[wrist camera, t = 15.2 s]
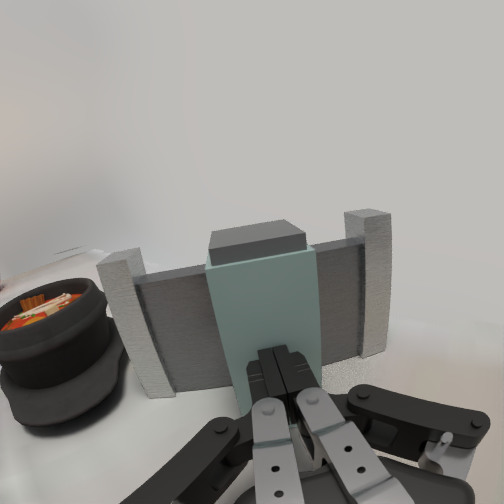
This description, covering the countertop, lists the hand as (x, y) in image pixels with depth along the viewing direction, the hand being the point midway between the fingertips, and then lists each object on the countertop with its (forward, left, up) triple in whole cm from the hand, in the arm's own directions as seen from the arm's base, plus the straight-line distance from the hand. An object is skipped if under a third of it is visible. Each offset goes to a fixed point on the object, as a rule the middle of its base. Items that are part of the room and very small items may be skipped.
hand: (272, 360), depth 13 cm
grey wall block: (0, -8, -7) cm, 10 cm away
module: (0, -3, -7) cm, 7 cm away
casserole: (+23, -11, -7) cm, 26 cm away
